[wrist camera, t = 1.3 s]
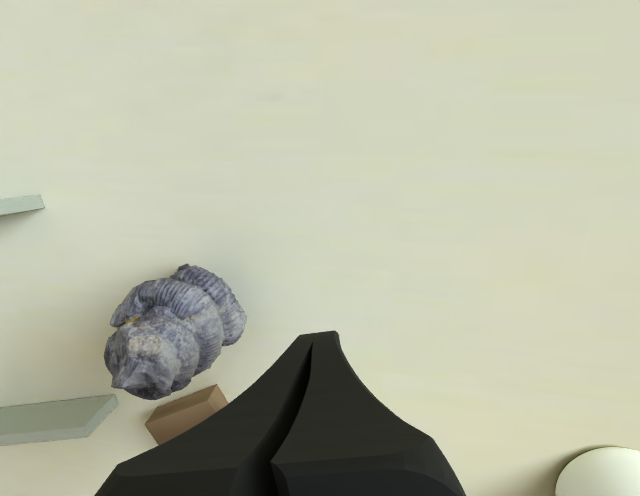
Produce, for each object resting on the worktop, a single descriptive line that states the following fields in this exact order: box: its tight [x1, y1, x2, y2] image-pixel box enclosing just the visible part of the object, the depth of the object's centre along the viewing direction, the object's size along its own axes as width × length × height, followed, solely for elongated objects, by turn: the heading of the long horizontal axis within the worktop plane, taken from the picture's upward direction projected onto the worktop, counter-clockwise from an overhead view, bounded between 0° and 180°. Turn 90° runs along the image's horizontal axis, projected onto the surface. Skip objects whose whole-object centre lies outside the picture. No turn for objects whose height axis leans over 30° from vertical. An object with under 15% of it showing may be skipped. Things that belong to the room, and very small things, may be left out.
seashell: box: [104, 264, 246, 400], centre depth 16 cm, size 5×5×10 cm
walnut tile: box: [145, 384, 229, 445], centre depth 24 cm, size 5×5×2 cm
